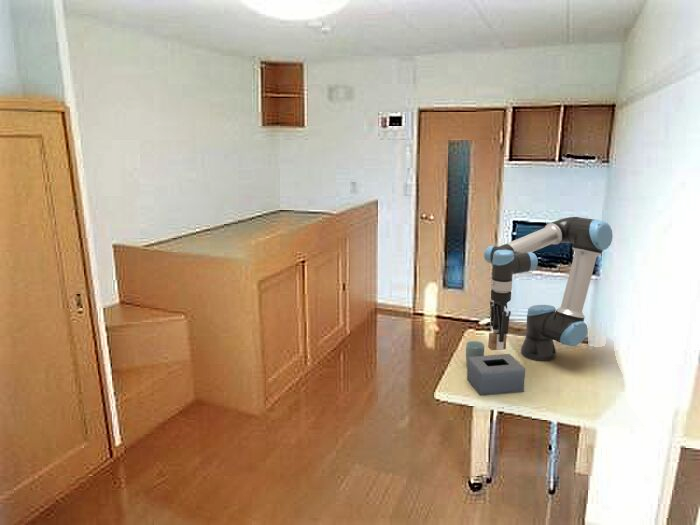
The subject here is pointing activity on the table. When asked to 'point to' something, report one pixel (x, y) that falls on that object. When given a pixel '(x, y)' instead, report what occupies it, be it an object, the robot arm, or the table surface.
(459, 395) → the table surface
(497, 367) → the coin box
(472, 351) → the cup
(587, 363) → the table surface
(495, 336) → the block
